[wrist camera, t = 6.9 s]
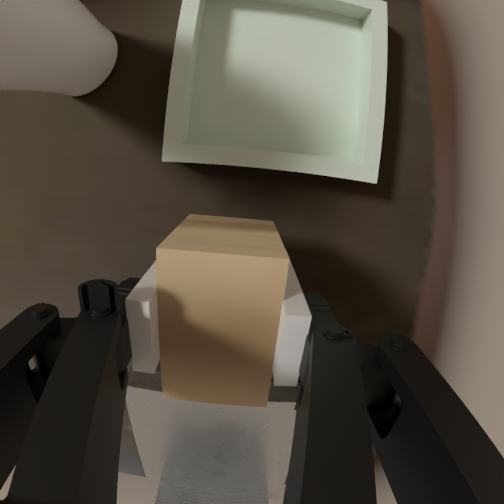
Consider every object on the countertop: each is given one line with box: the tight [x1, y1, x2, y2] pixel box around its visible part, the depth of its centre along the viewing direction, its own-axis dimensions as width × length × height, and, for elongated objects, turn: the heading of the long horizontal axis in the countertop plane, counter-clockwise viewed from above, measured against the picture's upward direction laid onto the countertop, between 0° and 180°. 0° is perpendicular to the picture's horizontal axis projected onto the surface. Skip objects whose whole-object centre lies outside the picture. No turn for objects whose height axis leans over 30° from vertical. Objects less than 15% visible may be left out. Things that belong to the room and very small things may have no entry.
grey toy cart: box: [126, 360, 301, 504], centre depth 16 cm, size 17×10×16 cm, turn 175°
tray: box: [162, 0, 388, 184], centre depth 16 cm, size 12×12×2 cm
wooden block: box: [156, 214, 290, 407], centre depth 13 cm, size 6×4×6 cm, turn 175°
